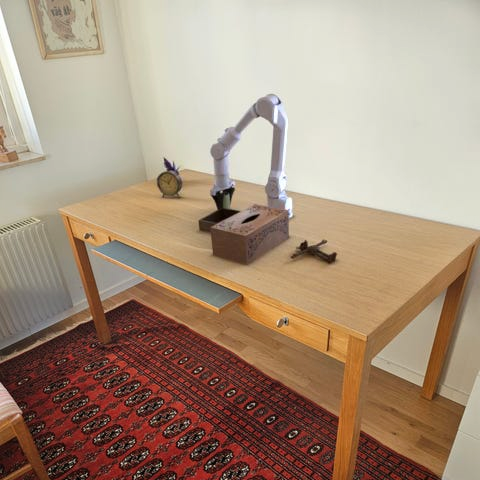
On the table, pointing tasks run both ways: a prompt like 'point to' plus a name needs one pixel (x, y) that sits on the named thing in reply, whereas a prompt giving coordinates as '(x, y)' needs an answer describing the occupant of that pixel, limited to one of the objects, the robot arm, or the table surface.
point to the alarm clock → (169, 182)
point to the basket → (215, 218)
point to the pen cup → (226, 200)
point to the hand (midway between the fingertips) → (224, 207)
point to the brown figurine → (315, 251)
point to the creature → (170, 167)
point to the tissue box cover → (250, 233)
